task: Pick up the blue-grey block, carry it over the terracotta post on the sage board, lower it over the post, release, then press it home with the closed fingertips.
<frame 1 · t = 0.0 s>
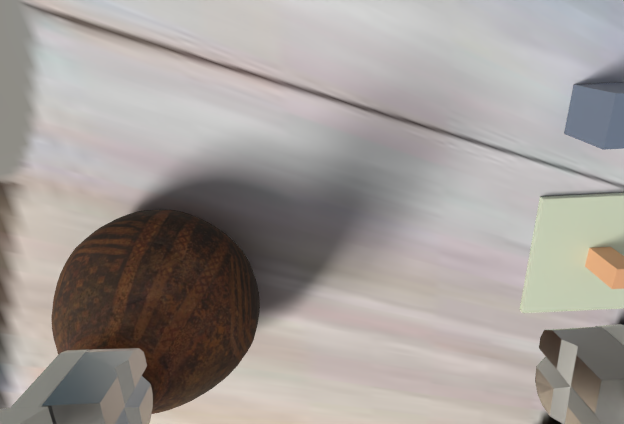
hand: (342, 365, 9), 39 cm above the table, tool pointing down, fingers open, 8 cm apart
post board: (593, 253, 52), on the table
blue-grey block: (593, 108, 45), on the table
jug: (178, 272, 53), on the table
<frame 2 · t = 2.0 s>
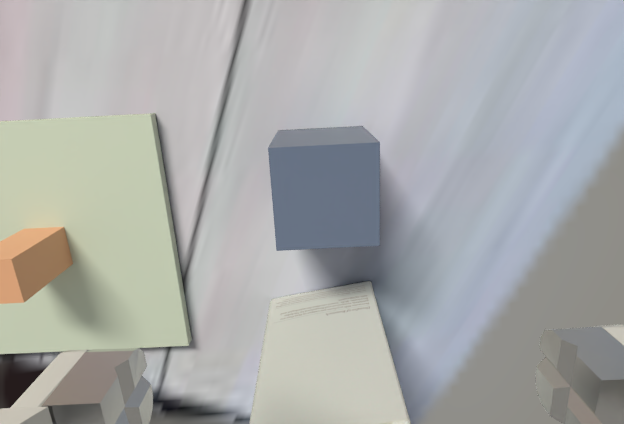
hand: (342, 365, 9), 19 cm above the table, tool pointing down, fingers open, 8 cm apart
post board: (56, 241, 28), on the table
supplement box: (329, 330, 31), on the table
blue-grey block: (322, 169, 27), on the table
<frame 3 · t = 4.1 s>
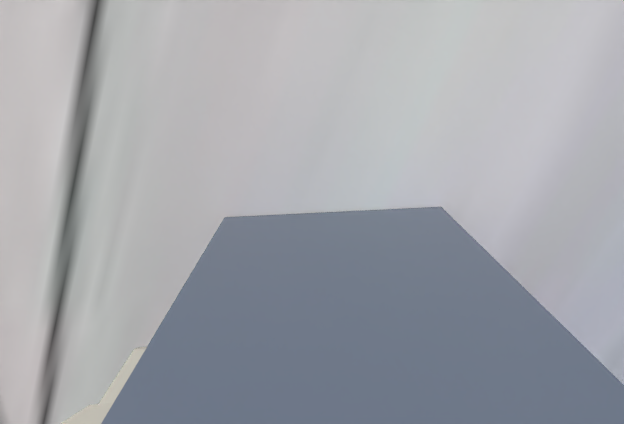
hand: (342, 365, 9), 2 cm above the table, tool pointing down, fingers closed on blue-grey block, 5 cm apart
blue-grey block: (336, 307, 11), on the table, touching gripper
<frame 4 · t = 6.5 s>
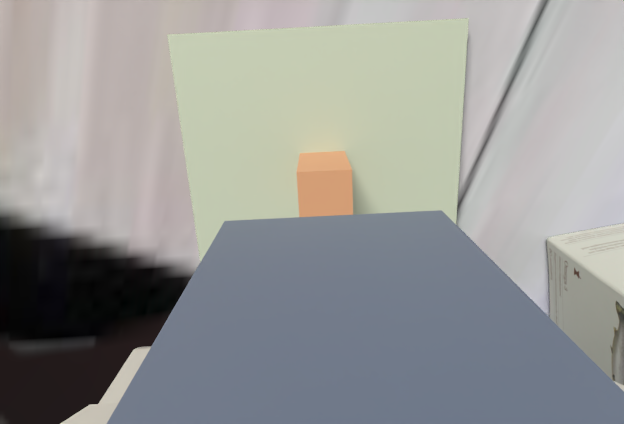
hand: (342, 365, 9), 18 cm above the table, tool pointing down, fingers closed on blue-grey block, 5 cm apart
post board: (322, 170, 26), on the table
supplement box: (598, 275, 28), on the table
blue-grey block: (336, 311, 11), point 16 cm above the table, touching gripper
when the fingers open (5 cm above the table, at t = 9.0 s): blue-grey block drops 1 cm, resting on post board.
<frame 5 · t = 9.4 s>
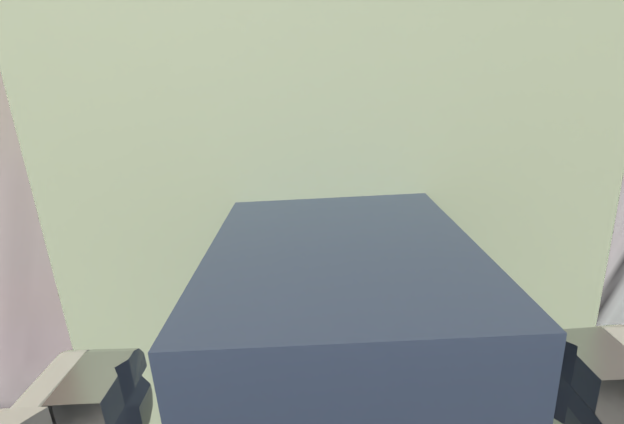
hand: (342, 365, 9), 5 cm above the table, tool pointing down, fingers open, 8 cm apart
post board: (330, 269, 13), on the table
blue-grey block: (333, 283, 12), point 1 cm above the table, touching post board
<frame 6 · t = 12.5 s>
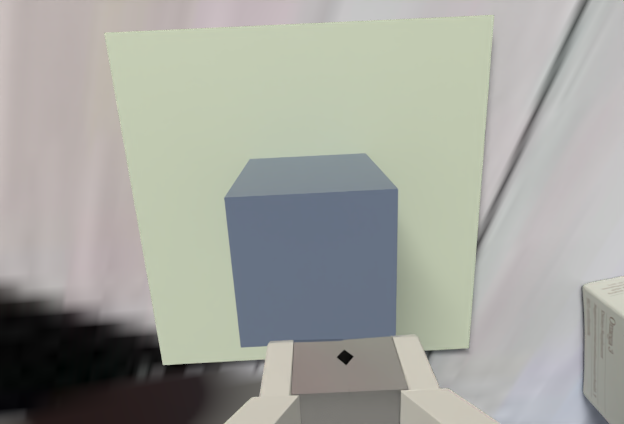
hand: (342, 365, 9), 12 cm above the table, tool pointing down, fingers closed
post board: (308, 205, 20), on the table
blue-grey block: (310, 211, 20), point 1 cm above the table, touching post board
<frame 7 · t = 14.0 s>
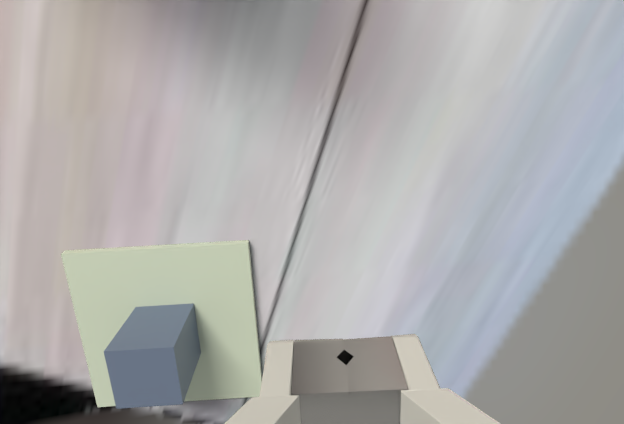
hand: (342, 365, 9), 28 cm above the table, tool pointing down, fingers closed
post board: (170, 325, 39), on the table
blue-grey block: (169, 330, 39), point 1 cm above the table, touching post board
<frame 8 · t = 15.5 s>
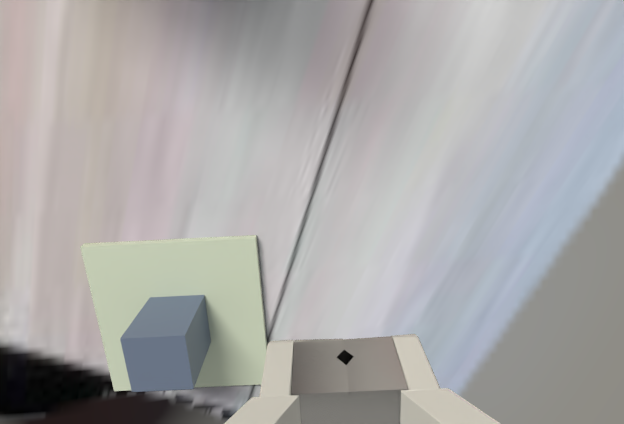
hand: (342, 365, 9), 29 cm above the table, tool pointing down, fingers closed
post board: (182, 315, 41), on the table
blue-grey block: (181, 319, 41), point 1 cm above the table, touching post board
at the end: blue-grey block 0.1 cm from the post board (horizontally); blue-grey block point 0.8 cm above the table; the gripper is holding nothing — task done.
